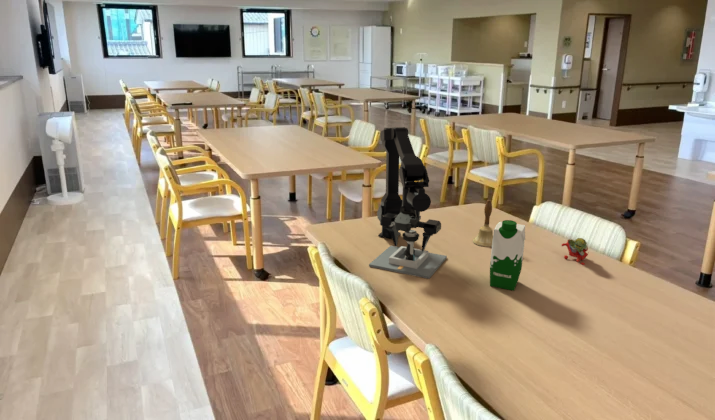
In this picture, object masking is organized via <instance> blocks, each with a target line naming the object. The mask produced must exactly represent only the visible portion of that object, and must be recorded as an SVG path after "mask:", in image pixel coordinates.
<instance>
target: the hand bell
mask: <svg viewBox="0 0 715 420" xmlns="http://www.w3.org/2000/svg"><path fill="white" fill-rule="evenodd" d="M483 212H484V223H483V224H484V225H483V226H481V227H479V229H478V230H479V231H478V233H477V236H476V237H475V238H473V240H472V243H473V244H474V245H477V246H479V247H484V248H485V247H486V248H488V247H489V248H492V241H493V234H494V229H493V228H492V227H490V219H491V214H492V212H493V203H492V200H491V199H487V200H486V203H485V205H484V211H483Z"/></svg>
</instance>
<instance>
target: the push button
mask: <svg viewBox="0 0 715 420" xmlns="http://www.w3.org/2000/svg"><path fill="white" fill-rule="evenodd" d="M419 238H420V234H419V233H418V232H417V231H416V230H415V229H411V230H410V231H409V232H405V231H404V232H402V240H404V241H405V242H406V247H407V249H406V250H405V251H404V256H405V259H406V260H411V261H415V250H414V248H415V246H414V245H415V243H416V242H417V241H418V240H419Z"/></svg>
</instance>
